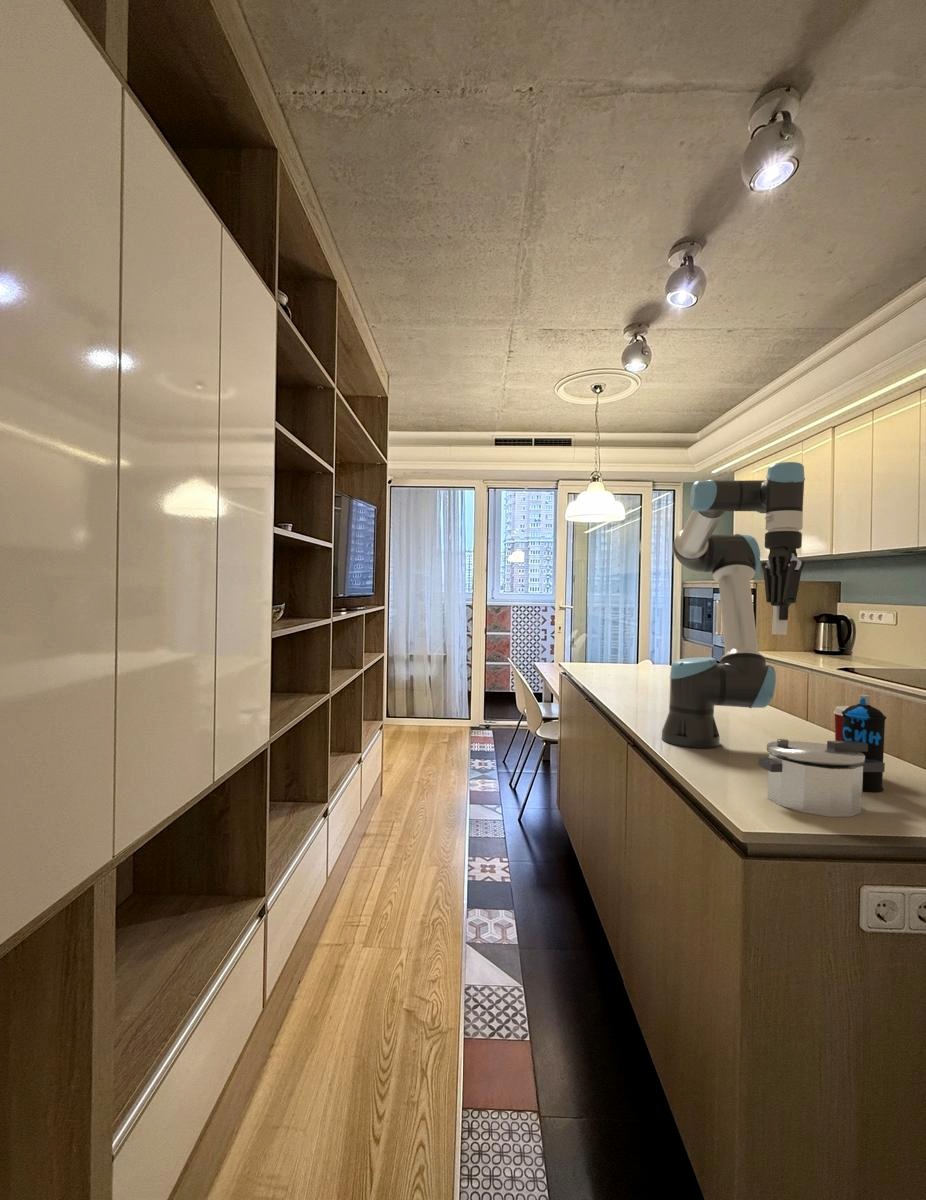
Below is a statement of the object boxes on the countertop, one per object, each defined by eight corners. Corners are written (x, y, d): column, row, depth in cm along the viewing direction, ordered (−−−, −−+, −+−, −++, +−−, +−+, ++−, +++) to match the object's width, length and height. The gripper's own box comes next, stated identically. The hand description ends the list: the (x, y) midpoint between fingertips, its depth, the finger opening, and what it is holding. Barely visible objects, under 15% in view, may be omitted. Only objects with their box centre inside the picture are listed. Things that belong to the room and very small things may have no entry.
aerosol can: (844, 778, 139) (847, 690, 138) (887, 787, 133) (891, 696, 133) (834, 785, 133) (837, 694, 133) (878, 795, 127) (882, 700, 127)
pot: (738, 786, 130) (739, 744, 130) (844, 786, 132) (846, 745, 132) (788, 816, 113) (789, 768, 113) (910, 816, 115) (912, 769, 115)
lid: (748, 744, 130) (749, 732, 130) (833, 745, 131) (833, 733, 131) (800, 764, 112) (800, 750, 112) (897, 765, 114) (897, 751, 114)
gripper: (751, 533, 145) (748, 631, 145) (784, 527, 132) (780, 636, 132) (781, 534, 146) (778, 632, 146) (817, 529, 133) (813, 636, 133)
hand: (779, 634), depth 139 cm, fingers closed
